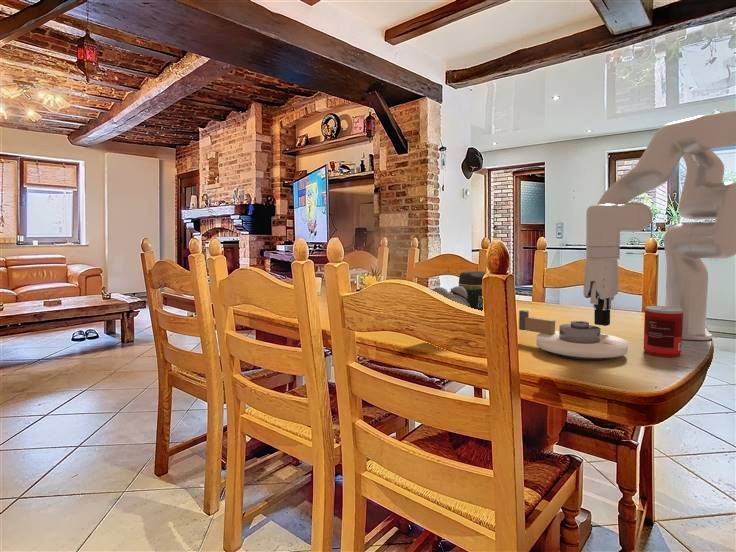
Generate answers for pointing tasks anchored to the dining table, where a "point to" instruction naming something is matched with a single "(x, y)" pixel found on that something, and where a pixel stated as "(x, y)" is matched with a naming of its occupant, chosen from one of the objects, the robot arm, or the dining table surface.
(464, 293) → the alarm clock
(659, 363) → the dining table surface
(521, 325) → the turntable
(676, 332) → the canned food
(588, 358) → the stand
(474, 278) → the coffee jar
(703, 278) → the robot arm
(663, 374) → the dining table surface
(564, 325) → the cover
